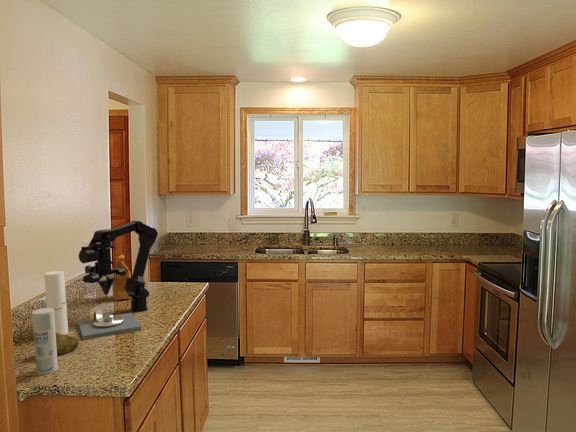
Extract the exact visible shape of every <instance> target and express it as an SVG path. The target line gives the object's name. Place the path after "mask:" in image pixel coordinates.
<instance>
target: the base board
mask: <svg viewBox="0 0 576 432" xmlns="http://www.w3.org/2000/svg"><path fill="white" fill-rule="evenodd" d="M113 315H114V316H121V317H123V318H124V322H123V323H121V324H119V325H116V326H111V327H96V326H94V325H93V322H94V312H90V311H89V319H82V320H78V321H77V322H78V327H79V331H80V334H81V337H82V340H83V341H85V340H90V339H94V338H95V339H96V338H100V337H101V338H102V337H107V336H112V335H118V334H124V333H130V332H136V331H141V330H142V326H141V324H140V323H139V321H138V320H137V318H136V317H135V316H134V314H133V313H132V312H126V313H120V314H113Z"/></svg>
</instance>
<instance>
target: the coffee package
mask: <svg viewBox="0 0 576 432" xmlns="http://www.w3.org/2000/svg"><path fill="white" fill-rule="evenodd" d="M125 257H126V256H125V255H124V254H123V253H122V254H120V255H119V256H118V257H117V258H118V261H117V263H116V265H115V266H114V268H124V269H125V271H126V275H123V276H120V275H119V274H117V275H114V278H116V279H115V280H114V282H113V284H112V286H111V289H112V298H113V301H114V302H115V301H116V302H117V301H122V300H128V299H129V300H130V299H131V297H129V296H128V293H127V292H126V291H125V287H126V286H125V284H126V279H127V278H130V277H131V276H132V275H131V271H130V269H129V267H128V266H127V265H126V264H125V262H124V258H125Z"/></svg>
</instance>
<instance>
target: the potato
mask: <svg viewBox="0 0 576 432" xmlns="http://www.w3.org/2000/svg"><path fill="white" fill-rule="evenodd" d="M55 333H56V332H55ZM78 346H79V339H78V338H76V337H75V336H72V335H67V334H64V335H63V334H59V333H56V348H57V355H61V354H67V353H70V352H72V351H74V350H75V349H77V348H78Z"/></svg>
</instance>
